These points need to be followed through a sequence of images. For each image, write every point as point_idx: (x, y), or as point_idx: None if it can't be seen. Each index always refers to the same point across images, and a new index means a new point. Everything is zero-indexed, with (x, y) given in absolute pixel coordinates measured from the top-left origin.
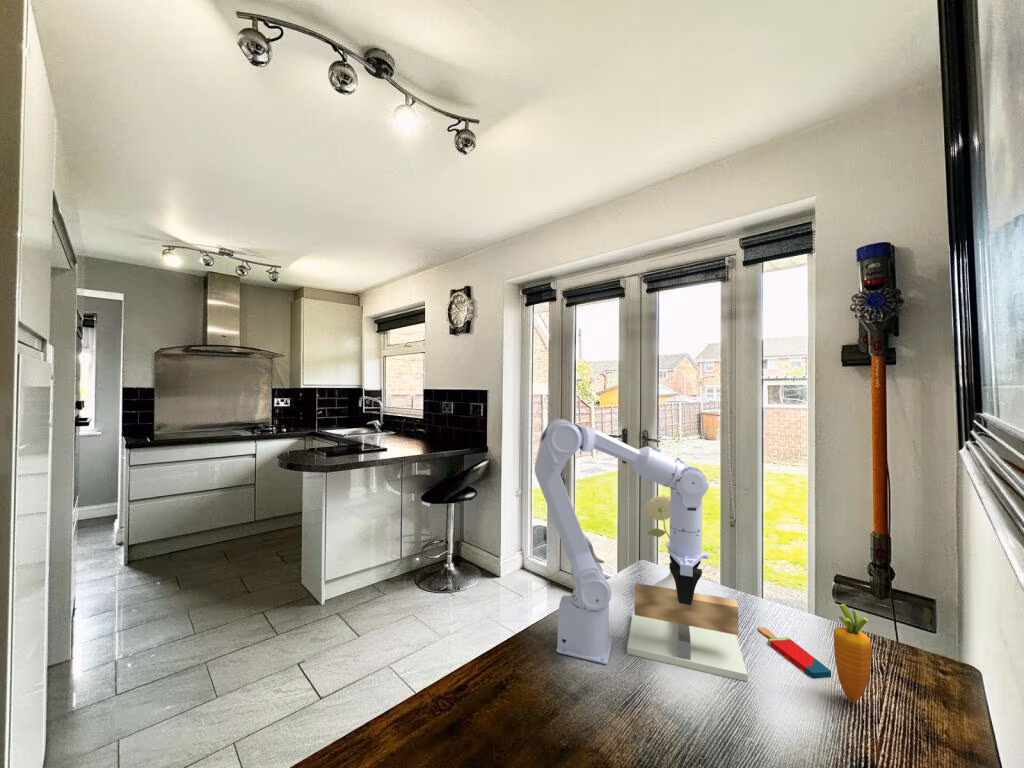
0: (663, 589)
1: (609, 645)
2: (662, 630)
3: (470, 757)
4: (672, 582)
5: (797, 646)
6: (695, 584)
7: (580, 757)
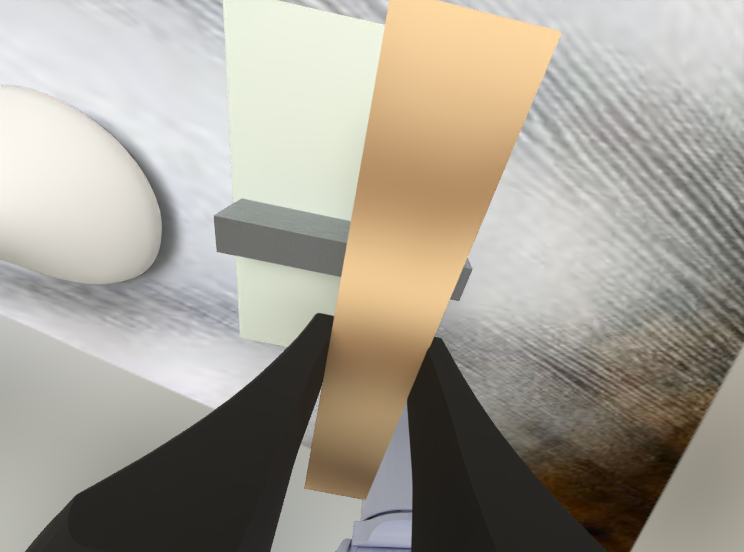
0: (337, 429)
1: None
2: (317, 284)
3: (644, 521)
4: (29, 243)
5: None
6: (529, 473)
7: (684, 445)
